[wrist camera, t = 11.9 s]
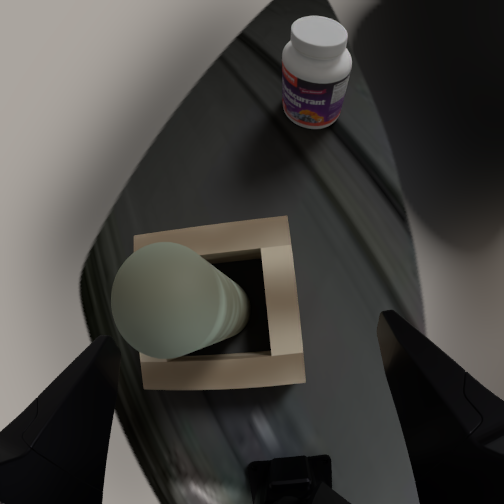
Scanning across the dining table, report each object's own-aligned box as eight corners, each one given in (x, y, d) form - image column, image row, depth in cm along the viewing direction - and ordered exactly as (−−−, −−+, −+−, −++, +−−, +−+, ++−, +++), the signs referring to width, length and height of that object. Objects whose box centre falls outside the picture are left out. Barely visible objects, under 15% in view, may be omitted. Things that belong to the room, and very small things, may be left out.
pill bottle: (271, 113, 26) (265, 33, 17) (301, 80, 27) (305, 4, 18) (322, 141, 25) (337, 63, 16) (349, 105, 26) (369, 29, 17)
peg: (254, 335, 23) (224, 356, 10) (196, 339, 23) (115, 358, 11) (248, 277, 24) (214, 235, 11) (192, 283, 24) (110, 248, 12)
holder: (302, 372, 22) (305, 382, 18) (161, 380, 22) (143, 389, 19) (286, 229, 24) (287, 215, 21) (152, 246, 25) (133, 235, 21)
